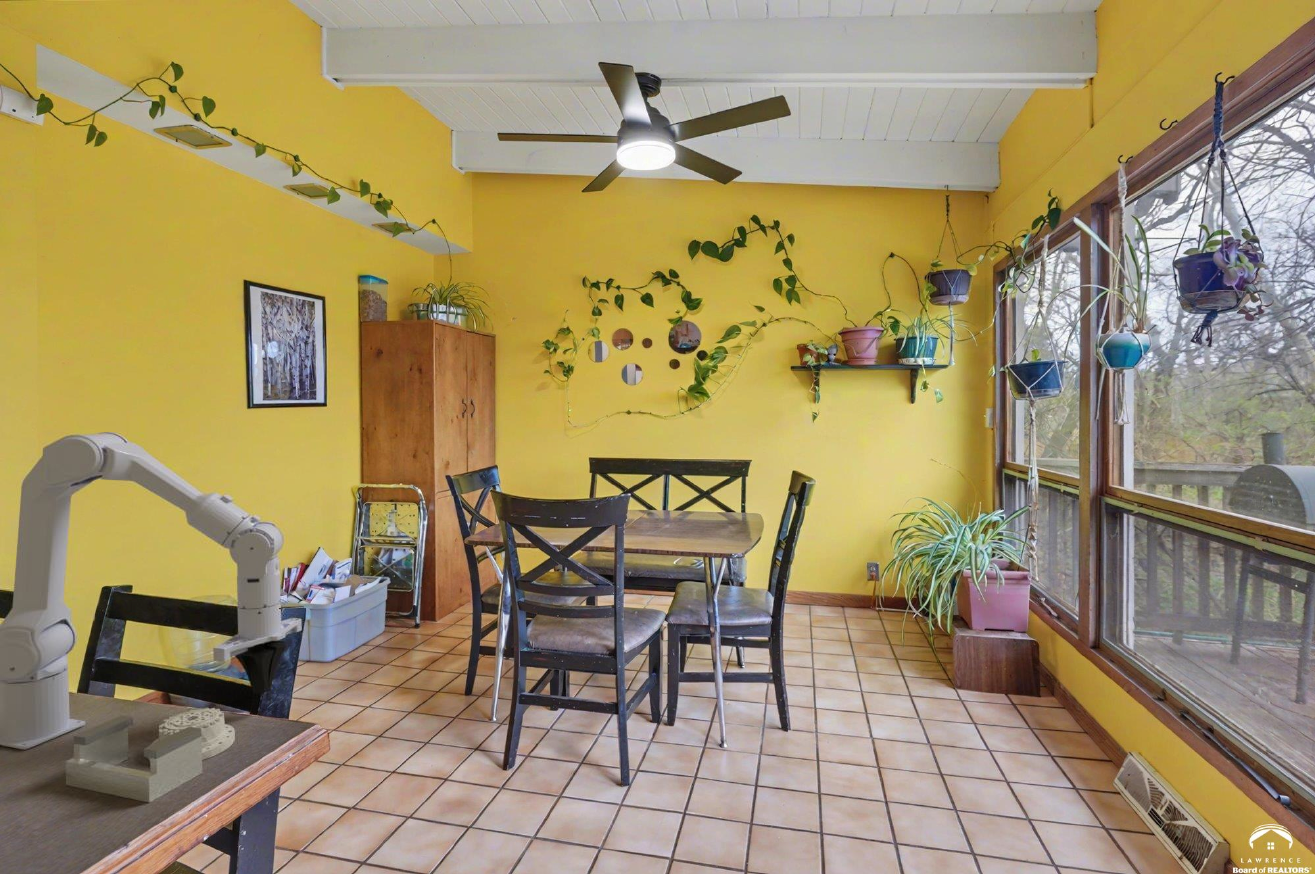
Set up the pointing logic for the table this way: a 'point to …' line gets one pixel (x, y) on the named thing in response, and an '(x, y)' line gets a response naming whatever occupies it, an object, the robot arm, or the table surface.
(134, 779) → the bracket
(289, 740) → the table surface
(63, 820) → the table surface
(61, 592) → the robot arm
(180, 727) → the mechanical component
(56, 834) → the table surface
